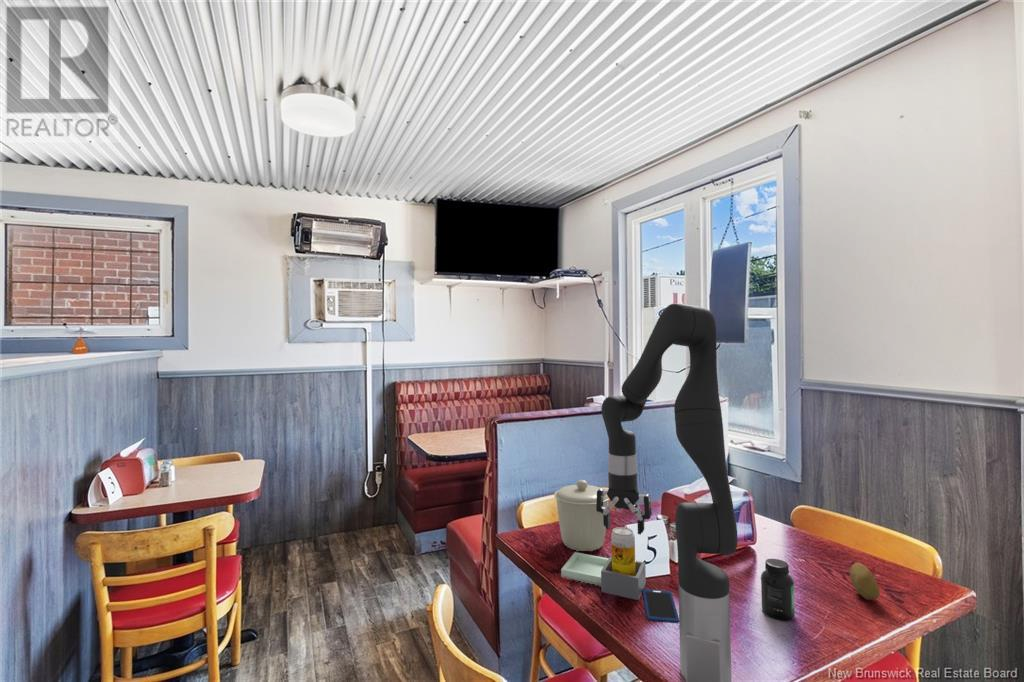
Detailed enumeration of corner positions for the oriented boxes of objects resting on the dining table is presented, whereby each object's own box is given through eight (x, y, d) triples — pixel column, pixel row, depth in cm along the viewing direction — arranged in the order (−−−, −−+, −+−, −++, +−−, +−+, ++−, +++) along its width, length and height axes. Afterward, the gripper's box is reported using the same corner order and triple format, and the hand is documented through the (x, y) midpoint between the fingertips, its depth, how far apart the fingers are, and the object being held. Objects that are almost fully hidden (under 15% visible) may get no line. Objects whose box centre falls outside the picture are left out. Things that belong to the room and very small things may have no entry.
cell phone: (671, 593, 123) (671, 590, 123) (680, 624, 109) (680, 621, 109) (642, 591, 124) (642, 588, 124) (647, 621, 110) (647, 618, 110)
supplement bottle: (801, 619, 110) (800, 567, 110) (776, 623, 108) (775, 571, 108) (779, 604, 116) (778, 555, 116) (755, 607, 115) (754, 558, 115)
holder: (638, 600, 119) (638, 578, 119) (601, 592, 123) (601, 570, 123) (645, 582, 128) (645, 562, 128) (610, 575, 132) (610, 556, 132)
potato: (876, 608, 114) (875, 575, 114) (840, 594, 120) (840, 563, 120) (889, 600, 117) (888, 567, 117) (854, 587, 124) (853, 556, 124)
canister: (546, 538, 158) (545, 475, 158) (595, 531, 164) (594, 470, 164) (569, 561, 141) (567, 491, 141) (622, 553, 146) (621, 485, 147)
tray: (603, 586, 126) (603, 577, 126) (561, 577, 131) (561, 569, 131) (614, 567, 137) (614, 559, 137) (575, 560, 142) (575, 552, 142)
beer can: (609, 590, 124) (608, 533, 124) (615, 579, 130) (614, 525, 130) (632, 595, 121) (631, 537, 122) (638, 584, 127) (636, 528, 127)
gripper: (592, 470, 126) (593, 531, 126) (647, 476, 119) (648, 540, 119) (600, 464, 132) (601, 521, 132) (652, 469, 126) (653, 529, 126)
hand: (623, 530), depth 126 cm, fingers open, 8 cm apart
